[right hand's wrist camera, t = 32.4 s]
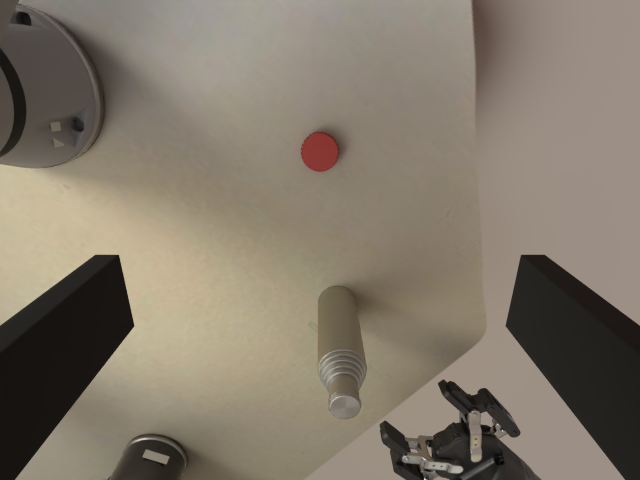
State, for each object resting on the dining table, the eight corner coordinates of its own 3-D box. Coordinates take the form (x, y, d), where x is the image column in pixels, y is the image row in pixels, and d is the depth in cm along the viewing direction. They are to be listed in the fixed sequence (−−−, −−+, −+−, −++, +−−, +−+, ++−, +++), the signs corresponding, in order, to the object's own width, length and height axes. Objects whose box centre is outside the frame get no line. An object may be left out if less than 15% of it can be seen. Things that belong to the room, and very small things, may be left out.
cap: (319, 123, 40) (319, 124, 38) (345, 149, 41) (346, 152, 39) (294, 151, 41) (293, 153, 39) (320, 176, 42) (320, 179, 40)
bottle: (351, 282, 47) (367, 381, 31) (358, 314, 48) (377, 423, 33) (314, 290, 47) (311, 391, 31) (322, 321, 49) (323, 432, 33)
